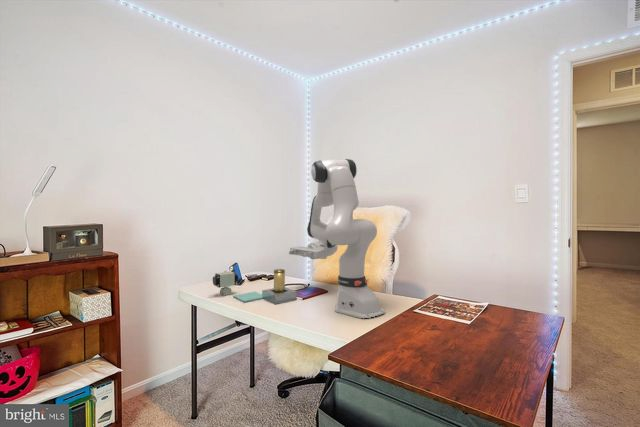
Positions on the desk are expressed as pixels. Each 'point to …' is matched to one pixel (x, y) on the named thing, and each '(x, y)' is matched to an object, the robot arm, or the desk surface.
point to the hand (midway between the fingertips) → (296, 254)
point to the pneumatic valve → (225, 281)
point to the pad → (248, 297)
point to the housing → (279, 296)
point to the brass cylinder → (279, 280)
